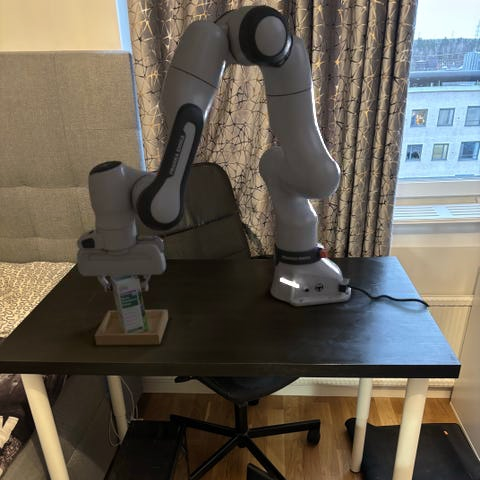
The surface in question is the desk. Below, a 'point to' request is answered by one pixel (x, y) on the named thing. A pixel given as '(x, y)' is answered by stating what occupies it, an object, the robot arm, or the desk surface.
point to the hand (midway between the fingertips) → (126, 290)
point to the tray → (115, 335)
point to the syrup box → (129, 303)
